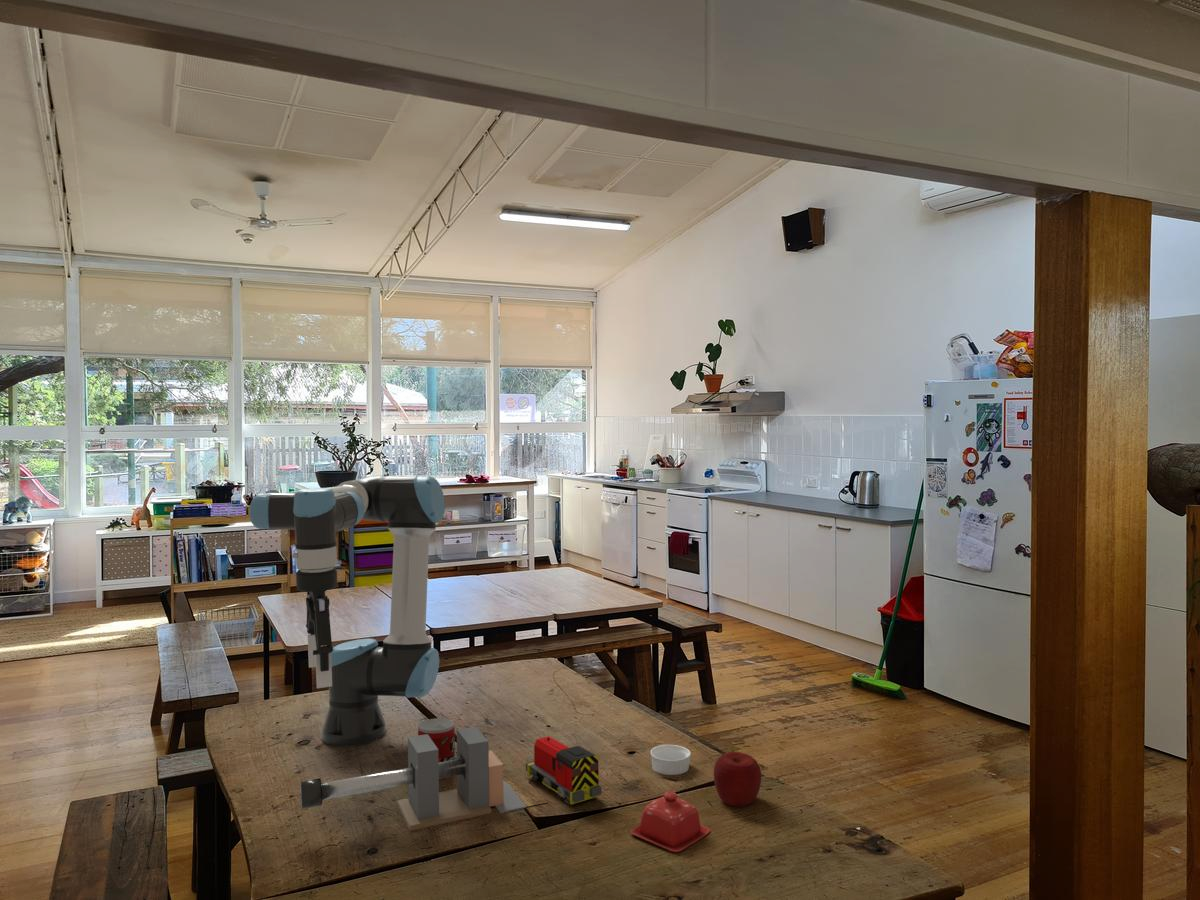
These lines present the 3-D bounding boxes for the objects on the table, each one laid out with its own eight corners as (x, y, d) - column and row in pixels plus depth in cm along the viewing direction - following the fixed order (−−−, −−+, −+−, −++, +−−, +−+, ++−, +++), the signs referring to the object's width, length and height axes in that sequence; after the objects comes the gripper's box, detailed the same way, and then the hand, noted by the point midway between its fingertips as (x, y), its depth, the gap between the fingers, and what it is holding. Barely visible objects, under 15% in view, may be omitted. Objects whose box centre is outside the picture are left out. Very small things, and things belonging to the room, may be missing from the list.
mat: (479, 787, 176) (479, 784, 176) (524, 778, 181) (524, 775, 181) (500, 814, 164) (500, 811, 164) (547, 804, 168) (547, 802, 168)
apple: (732, 819, 161) (732, 768, 161) (703, 799, 170) (703, 751, 169) (771, 808, 166) (771, 758, 165) (741, 790, 174) (741, 742, 174)
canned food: (447, 782, 179) (446, 731, 179) (412, 779, 181) (411, 729, 180) (460, 768, 187) (459, 719, 186) (426, 765, 188) (426, 717, 188)
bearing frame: (409, 831, 157) (408, 757, 157) (397, 805, 168) (396, 736, 168) (491, 814, 164) (490, 743, 164) (474, 790, 175) (473, 724, 174)
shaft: (302, 813, 153) (302, 787, 152) (300, 802, 157) (299, 777, 157) (469, 782, 166) (468, 758, 166) (462, 773, 170) (462, 749, 170)
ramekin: (698, 770, 184) (698, 751, 184) (674, 783, 178) (674, 763, 178) (667, 760, 190) (667, 741, 190) (642, 772, 184) (642, 752, 184)
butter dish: (714, 836, 155) (713, 791, 155) (677, 860, 146) (676, 812, 146) (664, 817, 163) (664, 774, 163) (626, 839, 154) (626, 793, 154)
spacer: (477, 791, 173) (477, 752, 173) (491, 788, 174) (491, 750, 174) (489, 806, 166) (488, 767, 166) (503, 803, 167) (503, 764, 167)
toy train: (574, 812, 165) (573, 762, 164) (525, 779, 180) (524, 733, 180) (602, 803, 169) (602, 754, 168) (551, 772, 184) (551, 727, 184)
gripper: (290, 559, 171) (293, 661, 173) (302, 582, 149) (306, 699, 150) (328, 556, 174) (331, 656, 176) (346, 578, 152) (349, 692, 153)
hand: (320, 676), depth 163 cm, fingers open, 13 cm apart
